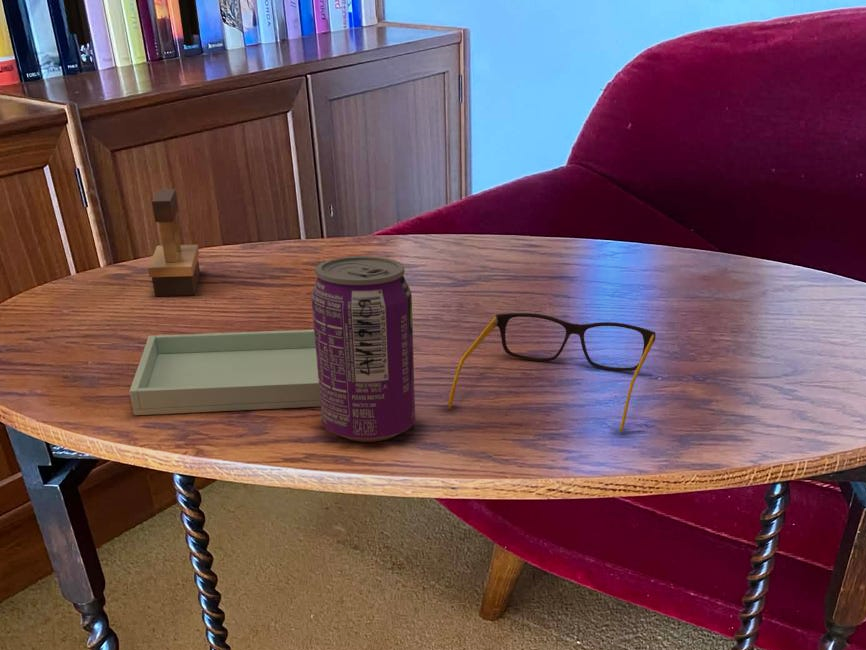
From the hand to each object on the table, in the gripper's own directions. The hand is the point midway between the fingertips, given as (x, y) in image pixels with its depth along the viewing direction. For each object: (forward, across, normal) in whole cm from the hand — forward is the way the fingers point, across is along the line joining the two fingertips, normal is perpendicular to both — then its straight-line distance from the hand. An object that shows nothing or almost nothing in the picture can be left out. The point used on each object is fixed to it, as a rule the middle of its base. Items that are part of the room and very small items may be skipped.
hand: (137, 44), depth 91 cm
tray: (+22, +9, -30) cm, 38 cm away
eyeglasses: (+22, +34, -35) cm, 54 cm away
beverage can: (+22, +18, -41) cm, 50 cm away
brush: (+22, 0, 0) cm, 22 cm away
